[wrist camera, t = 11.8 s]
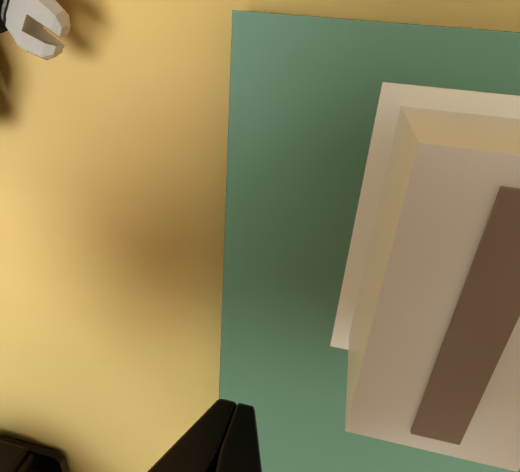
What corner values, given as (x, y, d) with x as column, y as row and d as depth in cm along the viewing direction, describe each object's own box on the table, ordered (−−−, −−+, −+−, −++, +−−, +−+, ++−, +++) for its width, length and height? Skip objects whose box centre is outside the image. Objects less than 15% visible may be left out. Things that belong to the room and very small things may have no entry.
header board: (512, 523, 19) (546, 634, 16) (223, 449, 21) (196, 532, 18) (813, 55, 10) (1064, 71, 6) (243, 11, 12) (195, 5, 8)
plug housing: (478, 361, 14) (518, 475, 10) (348, 335, 15) (344, 434, 11) (580, 125, 10) (696, 178, 7) (400, 105, 11) (419, 143, 7)
